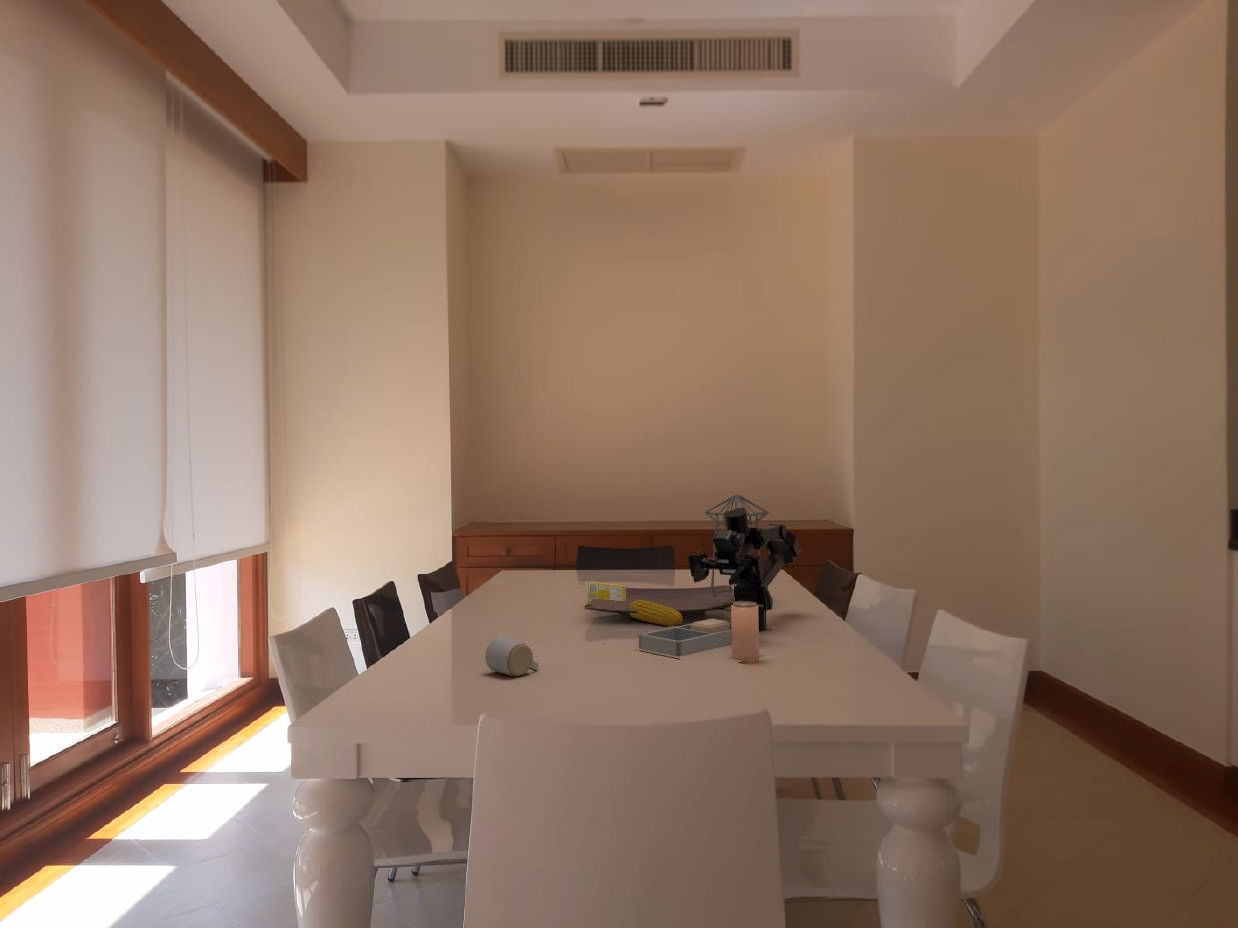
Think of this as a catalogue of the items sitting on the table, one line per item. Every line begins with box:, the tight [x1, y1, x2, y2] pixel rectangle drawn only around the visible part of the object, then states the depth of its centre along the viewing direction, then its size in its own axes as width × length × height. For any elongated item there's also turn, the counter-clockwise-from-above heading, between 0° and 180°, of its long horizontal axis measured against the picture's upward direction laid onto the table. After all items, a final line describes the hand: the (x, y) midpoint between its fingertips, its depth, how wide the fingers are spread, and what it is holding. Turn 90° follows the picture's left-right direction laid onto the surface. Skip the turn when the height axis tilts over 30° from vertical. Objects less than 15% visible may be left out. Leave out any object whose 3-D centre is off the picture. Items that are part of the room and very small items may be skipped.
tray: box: [638, 622, 732, 661], centre depth 209 cm, size 25×13×4 cm, turn 134°
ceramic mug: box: [484, 635, 540, 677], centre depth 186 cm, size 11×8×8 cm
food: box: [629, 599, 684, 627], centre depth 242 cm, size 21×6×6 cm, turn 38°
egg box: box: [690, 618, 731, 633], centre depth 213 cm, size 8×6×4 cm
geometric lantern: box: [703, 494, 771, 611], centre depth 265 cm, size 16×16×35 cm
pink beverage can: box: [730, 601, 760, 665], centre depth 194 cm, size 6×6×13 cm
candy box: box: [584, 580, 627, 606], centre depth 265 cm, size 16×2×8 cm, turn 46°
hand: (711, 581), depth 205 cm, fingers open, 9 cm apart
